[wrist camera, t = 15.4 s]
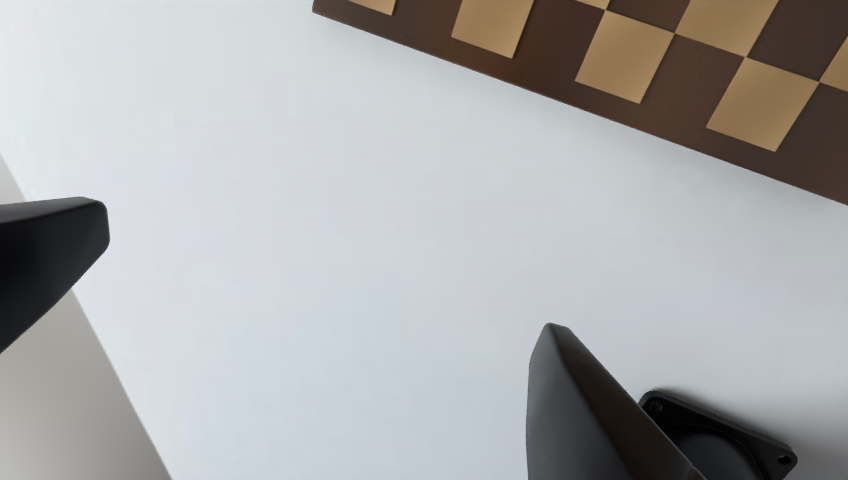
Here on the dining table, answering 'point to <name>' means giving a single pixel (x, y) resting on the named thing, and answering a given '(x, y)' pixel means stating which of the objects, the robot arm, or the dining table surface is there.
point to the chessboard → (659, 68)
